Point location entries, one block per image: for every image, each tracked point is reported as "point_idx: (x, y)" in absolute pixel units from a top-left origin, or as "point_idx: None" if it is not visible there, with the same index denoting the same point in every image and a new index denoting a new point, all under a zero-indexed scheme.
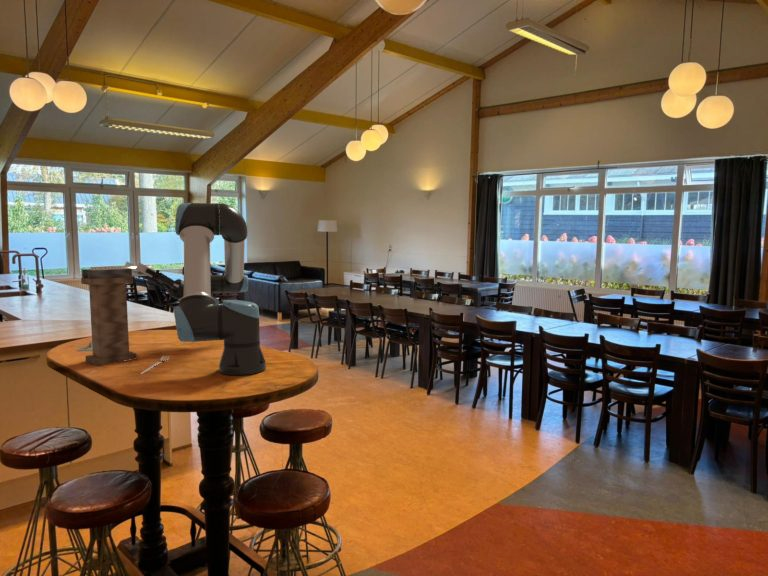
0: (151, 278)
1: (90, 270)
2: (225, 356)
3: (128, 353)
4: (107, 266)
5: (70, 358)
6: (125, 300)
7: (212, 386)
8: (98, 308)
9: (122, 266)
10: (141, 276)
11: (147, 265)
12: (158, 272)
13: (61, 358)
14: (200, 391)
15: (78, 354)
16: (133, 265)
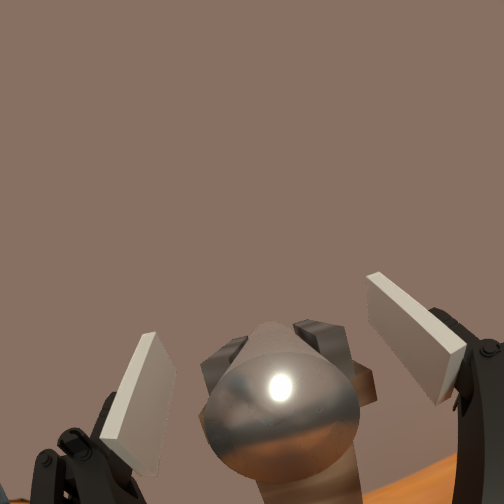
0: (460, 492)
1: (232, 339)
2: None
3: None
4: (263, 325)
5: (411, 491)
6: (260, 491)
7: None
8: None
9: (253, 334)
10: (458, 411)
11: (236, 361)
12: (72, 455)
13: (418, 478)
14: None
15: (452, 485)
16: (262, 335)
